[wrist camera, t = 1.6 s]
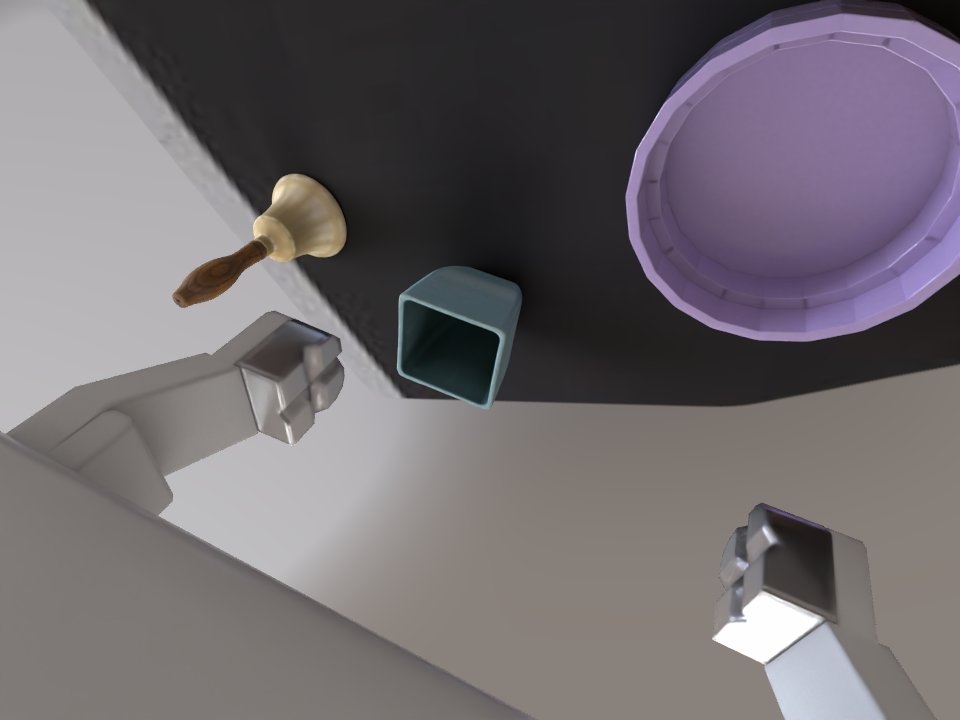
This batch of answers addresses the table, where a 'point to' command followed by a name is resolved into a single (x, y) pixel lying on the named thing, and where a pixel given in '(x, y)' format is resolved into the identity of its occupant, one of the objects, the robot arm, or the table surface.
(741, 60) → the bowl
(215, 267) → the hand bell
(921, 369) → the table surface
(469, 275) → the flower pot
